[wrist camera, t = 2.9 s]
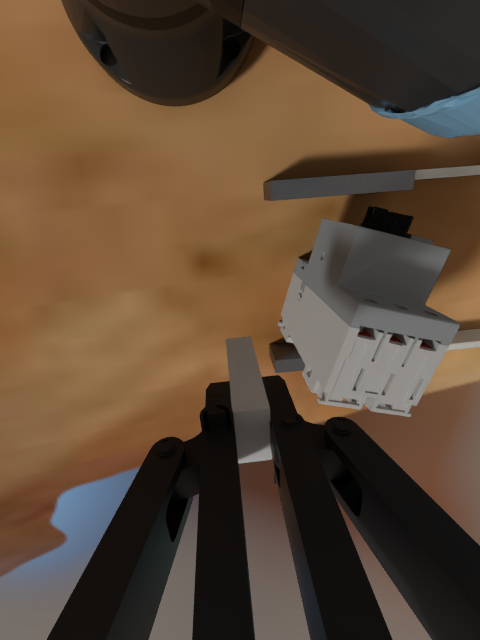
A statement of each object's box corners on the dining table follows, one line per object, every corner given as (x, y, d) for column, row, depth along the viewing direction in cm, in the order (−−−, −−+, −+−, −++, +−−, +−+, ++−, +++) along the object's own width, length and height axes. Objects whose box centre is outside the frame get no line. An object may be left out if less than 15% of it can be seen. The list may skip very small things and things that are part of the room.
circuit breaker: (381, 216, 31) (512, 231, 18) (335, 335, 36) (408, 419, 23) (315, 199, 30) (400, 201, 16) (277, 324, 35) (318, 406, 22)
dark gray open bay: (263, 182, 29) (270, 180, 25) (391, 173, 30) (415, 169, 26) (269, 355, 37) (275, 373, 33) (371, 344, 37) (388, 361, 34)
